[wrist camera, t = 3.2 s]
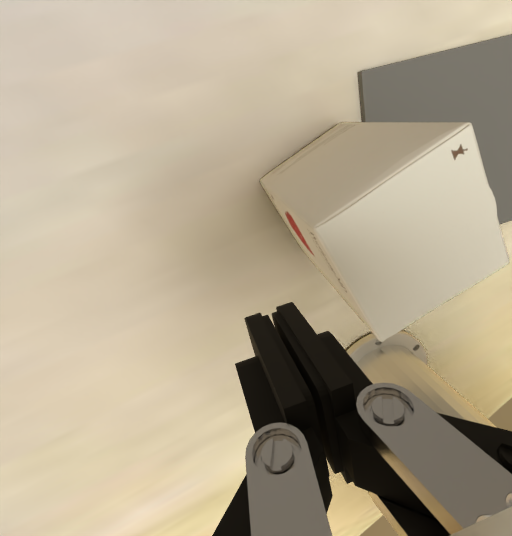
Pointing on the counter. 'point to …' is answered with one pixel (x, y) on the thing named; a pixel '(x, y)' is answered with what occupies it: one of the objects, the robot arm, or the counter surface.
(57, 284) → the counter surface
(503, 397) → the counter surface
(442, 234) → the supplement box
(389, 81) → the mat
